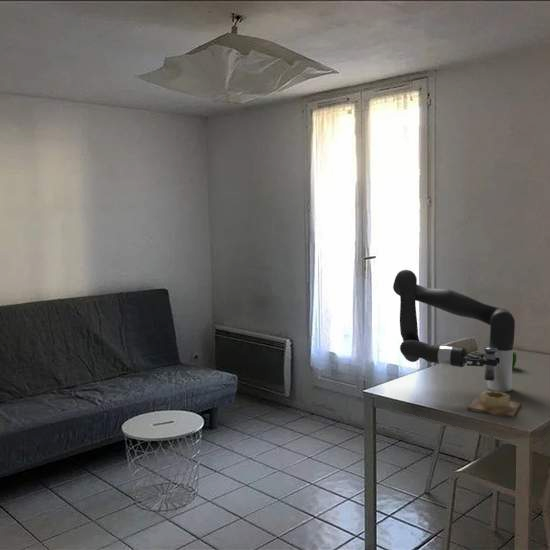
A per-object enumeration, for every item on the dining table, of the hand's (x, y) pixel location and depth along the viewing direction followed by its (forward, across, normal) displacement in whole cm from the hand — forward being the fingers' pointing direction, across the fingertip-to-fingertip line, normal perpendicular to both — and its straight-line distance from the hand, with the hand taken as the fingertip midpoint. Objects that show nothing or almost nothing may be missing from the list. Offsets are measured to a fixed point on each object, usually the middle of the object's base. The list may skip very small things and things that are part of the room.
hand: (498, 362), depth 221 cm
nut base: (-1, +1, +18) cm, 18 cm away
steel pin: (-3, 0, +7) cm, 8 cm away
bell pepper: (-8, +62, +18) cm, 66 cm away
